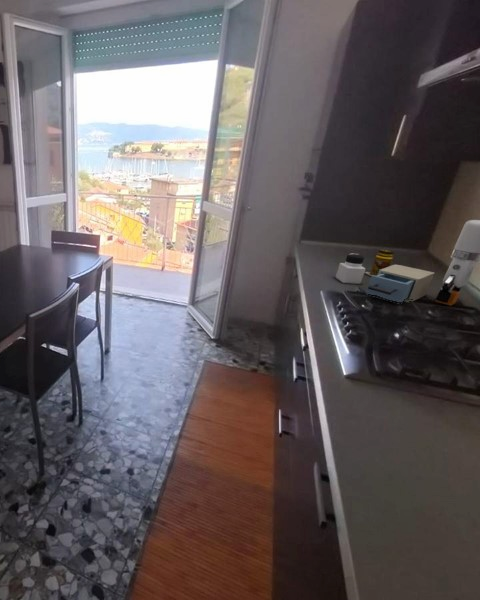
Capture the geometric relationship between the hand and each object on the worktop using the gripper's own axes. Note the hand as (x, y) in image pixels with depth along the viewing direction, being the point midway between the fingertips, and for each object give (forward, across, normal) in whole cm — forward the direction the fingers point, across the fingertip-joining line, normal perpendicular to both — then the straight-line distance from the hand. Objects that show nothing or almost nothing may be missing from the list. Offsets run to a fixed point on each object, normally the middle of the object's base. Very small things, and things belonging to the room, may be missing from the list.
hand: (446, 298), depth 135 cm
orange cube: (+1, 0, 0) cm, 1 cm away
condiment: (+2, +14, +28) cm, 31 cm away
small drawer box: (+1, -5, +13) cm, 14 cm away
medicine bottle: (+2, -6, +31) cm, 31 cm away
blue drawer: (+1, -16, +13) cm, 20 cm away
